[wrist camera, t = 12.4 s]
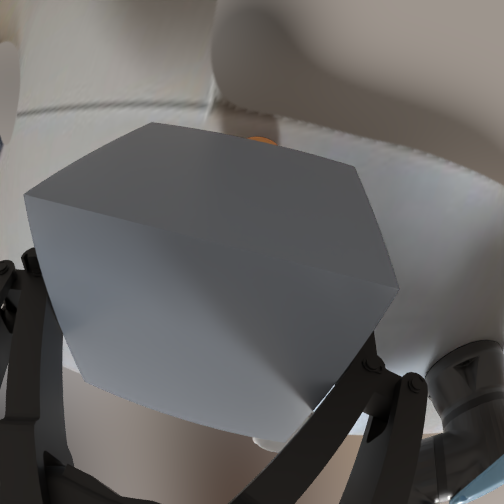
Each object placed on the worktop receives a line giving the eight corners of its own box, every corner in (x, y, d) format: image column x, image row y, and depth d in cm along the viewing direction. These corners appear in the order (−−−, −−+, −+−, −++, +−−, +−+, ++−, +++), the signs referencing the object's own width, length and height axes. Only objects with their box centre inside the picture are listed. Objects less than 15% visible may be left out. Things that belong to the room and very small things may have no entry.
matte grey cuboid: (354, 166, 14) (399, 288, 7) (298, 315, 20) (284, 442, 12) (151, 122, 14) (23, 194, 7) (148, 275, 20) (84, 381, 13)
